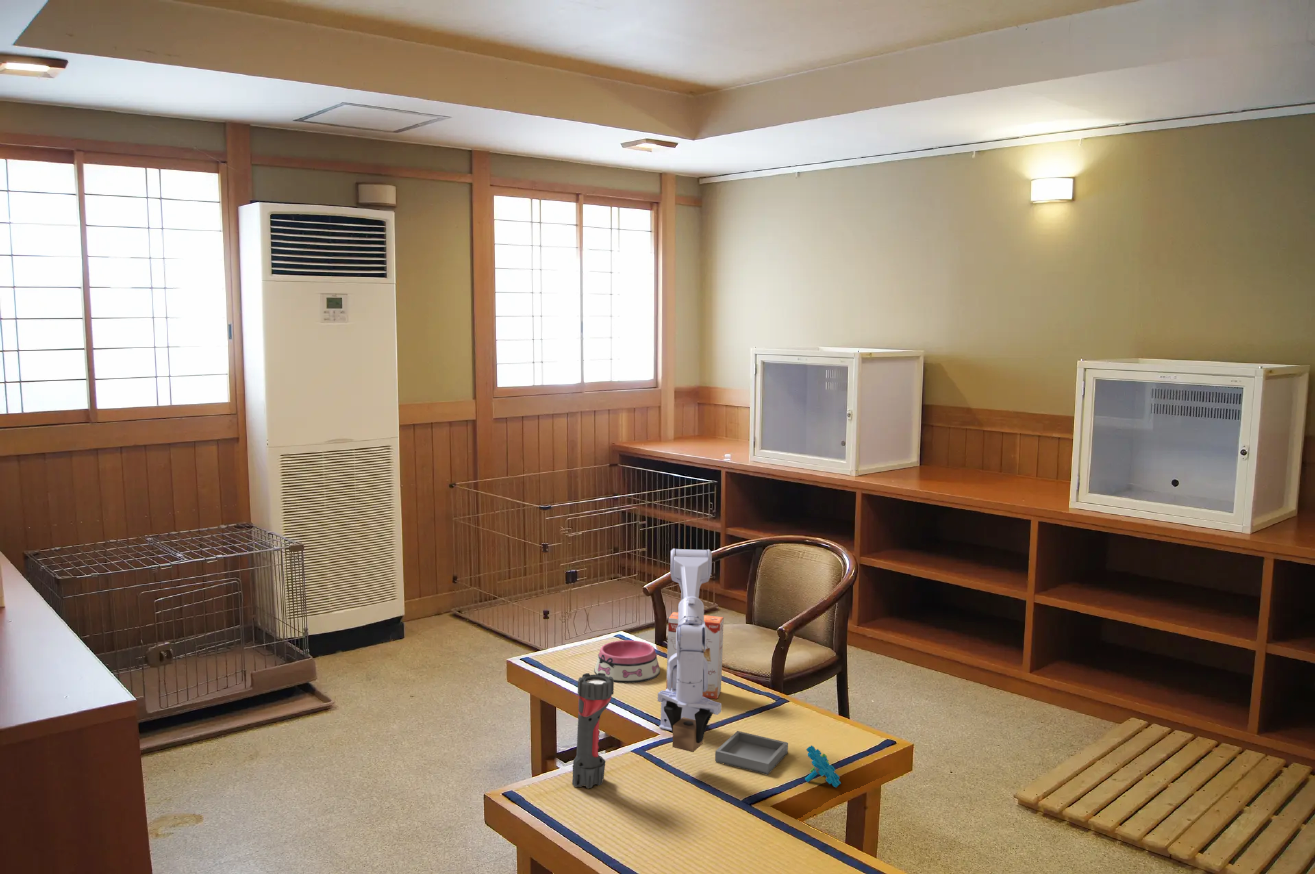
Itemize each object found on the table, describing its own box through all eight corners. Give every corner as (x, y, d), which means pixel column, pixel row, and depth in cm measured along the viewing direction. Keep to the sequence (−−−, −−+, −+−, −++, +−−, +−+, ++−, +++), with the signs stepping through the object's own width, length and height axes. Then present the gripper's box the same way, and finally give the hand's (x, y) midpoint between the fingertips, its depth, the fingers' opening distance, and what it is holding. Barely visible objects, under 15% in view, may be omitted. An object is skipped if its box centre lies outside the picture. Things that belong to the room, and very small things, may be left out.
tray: (715, 761, 216) (715, 751, 216) (737, 740, 227) (737, 730, 227) (767, 774, 210) (768, 764, 210) (787, 752, 222) (788, 742, 221)
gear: (841, 789, 201) (809, 751, 203) (820, 806, 202) (788, 768, 204) (844, 773, 212) (814, 736, 214) (824, 789, 213) (794, 753, 215)
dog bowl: (580, 670, 272) (581, 646, 271) (630, 656, 285) (630, 633, 284) (623, 689, 259) (623, 664, 258) (673, 673, 271) (674, 649, 270)
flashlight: (615, 775, 209) (617, 673, 206) (605, 792, 201) (607, 686, 198) (581, 770, 210) (582, 669, 208) (570, 787, 203) (571, 682, 200)
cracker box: (665, 694, 255) (667, 617, 253) (670, 686, 261) (672, 610, 259) (717, 700, 252) (720, 622, 249) (721, 691, 258) (724, 615, 255)
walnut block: (672, 747, 210) (672, 725, 210) (682, 738, 215) (683, 716, 214) (693, 752, 208) (693, 730, 207) (702, 743, 212) (703, 721, 212)
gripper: (651, 678, 209) (650, 737, 211) (712, 691, 203) (710, 752, 204) (666, 668, 216) (665, 726, 217) (726, 680, 209) (724, 740, 211)
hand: (688, 738), depth 211 cm, fingers closed on walnut block, 5 cm apart
